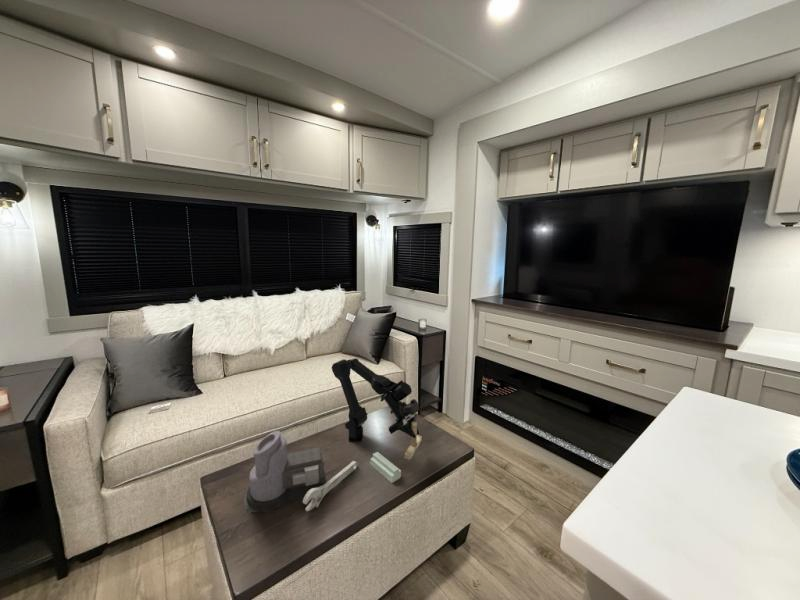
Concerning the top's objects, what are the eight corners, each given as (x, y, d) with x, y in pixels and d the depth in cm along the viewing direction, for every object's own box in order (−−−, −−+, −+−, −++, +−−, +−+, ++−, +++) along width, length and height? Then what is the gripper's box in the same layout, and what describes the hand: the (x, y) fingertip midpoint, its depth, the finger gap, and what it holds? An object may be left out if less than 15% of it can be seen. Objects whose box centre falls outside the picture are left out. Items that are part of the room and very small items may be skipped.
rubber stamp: (409, 459, 128) (410, 432, 126) (404, 457, 129) (405, 430, 127) (421, 440, 141) (422, 415, 139) (416, 438, 142) (417, 413, 140)
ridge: (370, 464, 135) (370, 455, 134) (379, 459, 138) (379, 450, 137) (391, 483, 125) (391, 473, 124) (400, 477, 128) (401, 467, 127)
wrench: (357, 473, 134) (305, 519, 107) (353, 471, 134) (301, 516, 108) (358, 455, 133) (306, 497, 107) (354, 453, 134) (302, 494, 107)
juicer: (240, 518, 108) (235, 455, 103) (245, 484, 122) (241, 428, 118) (328, 495, 118) (327, 437, 113) (323, 467, 133) (322, 414, 128)
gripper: (395, 405, 125) (418, 440, 121) (417, 387, 141) (439, 418, 137) (379, 417, 131) (400, 450, 127) (402, 399, 146) (422, 428, 143)
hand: (416, 436), depth 133 cm, fingers closed on rubber stamp, 2 cm apart
